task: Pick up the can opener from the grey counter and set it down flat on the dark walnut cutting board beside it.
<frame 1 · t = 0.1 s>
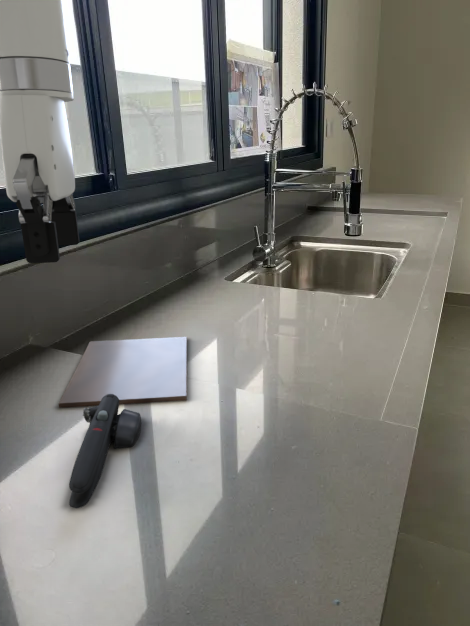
hand: (55, 252, 55), 24 cm above the worktop, tool pointing down, fingers open, 9 cm apart
cutting board: (132, 373, 82), on the worktop
can opener: (102, 465, 59), on the worktop
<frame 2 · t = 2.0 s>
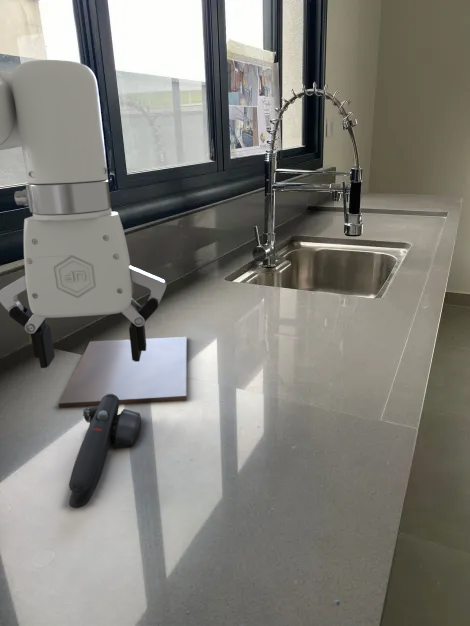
hand: (93, 359, 54), 13 cm above the worktop, tool pointing down, fingers open, 9 cm apart
nothing on the worktop moved.
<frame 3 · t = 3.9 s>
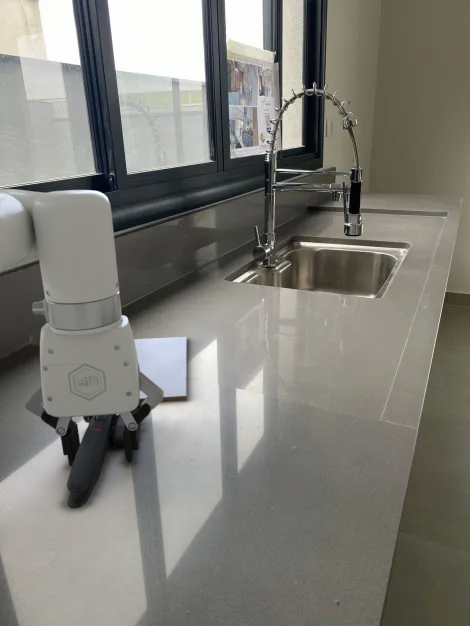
hand: (102, 455, 58), 1 cm above the worktop, tool pointing down, fingers closed on can opener, 5 cm apart
can opener: (100, 465, 59), on the worktop, touching gripper
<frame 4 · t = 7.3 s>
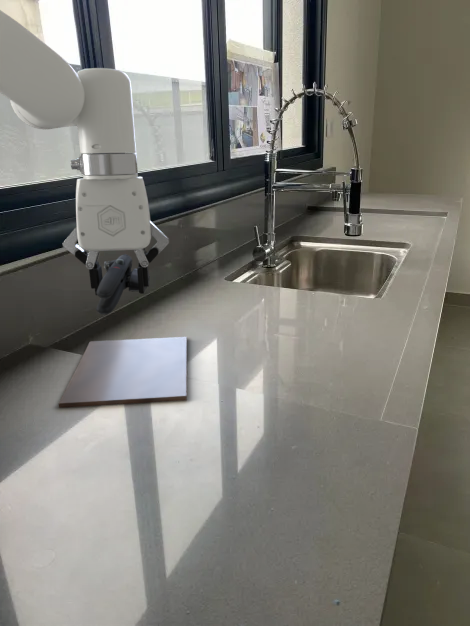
hand: (121, 291, 75), 15 cm above the worktop, tool pointing down, fingers closed on can opener, 5 cm apart
can opener: (119, 299, 75), point 14 cm above the worktop, touching gripper
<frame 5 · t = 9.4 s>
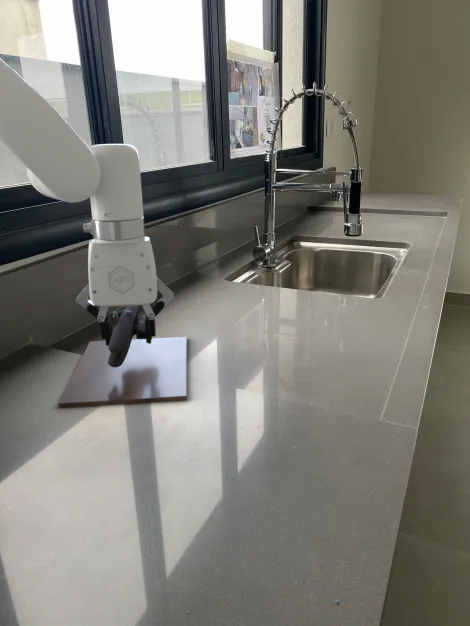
hand: (129, 340, 80), 6 cm above the worktop, tool pointing down, fingers closed on can opener, 5 cm apart
can opener: (128, 348, 81), point 4 cm above the worktop, touching gripper
when the fingers open (3 cm above the worktop, at t = 10.7 s): can opener stays where it is, resting on cutting board.
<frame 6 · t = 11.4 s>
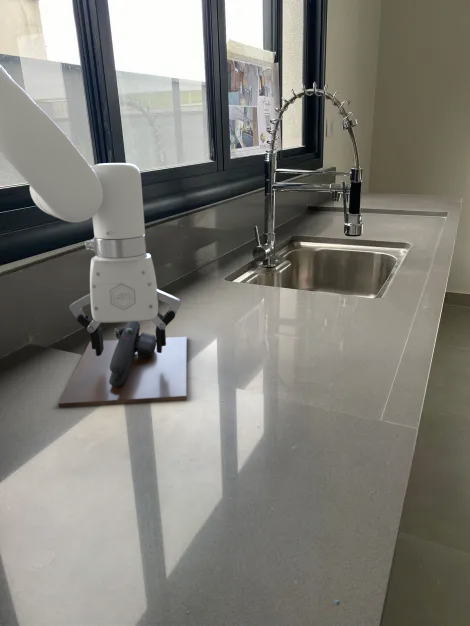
hand: (130, 351, 81), 4 cm above the worktop, tool pointing down, fingers open, 9 cm apart
can opener: (129, 366, 82), point 1 cm above the worktop, touching cutting board
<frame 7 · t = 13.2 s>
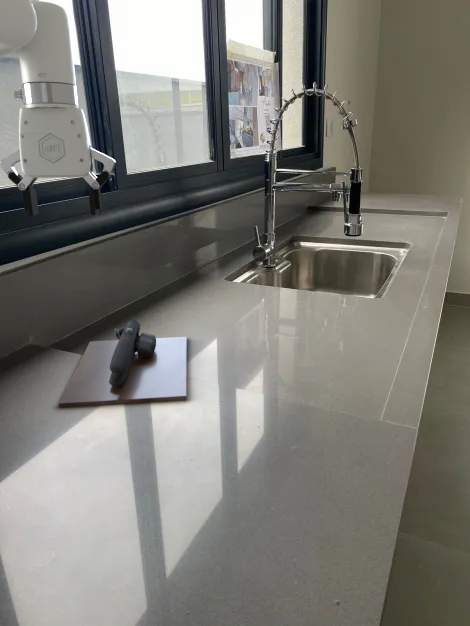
hand: (64, 214, 80), 26 cm above the worktop, tool pointing down, fingers open, 9 cm apart
nothing on the worktop moved.
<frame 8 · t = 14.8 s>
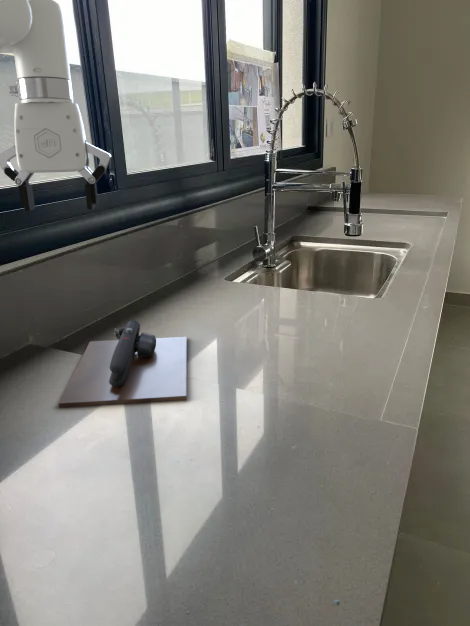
hand: (60, 209, 80), 26 cm above the worktop, tool pointing down, fingers open, 9 cm apart
nothing on the worktop moved.
at the end: can opener inside the target area on the cutting board (0.5 cm from its centre), point 1.3 cm above the cutting board's base; can opener touching cutting board; the gripper is holding nothing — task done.
